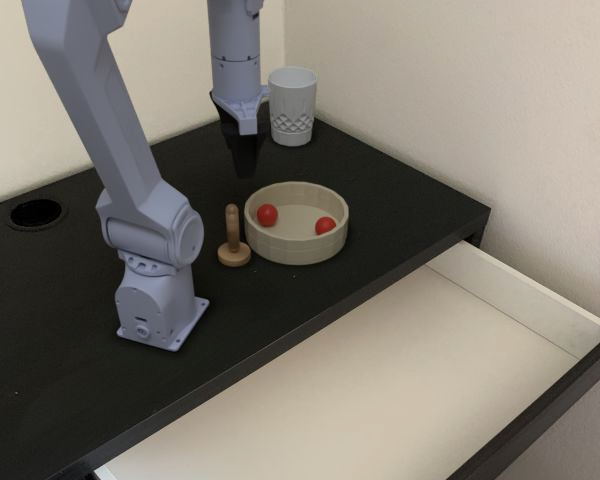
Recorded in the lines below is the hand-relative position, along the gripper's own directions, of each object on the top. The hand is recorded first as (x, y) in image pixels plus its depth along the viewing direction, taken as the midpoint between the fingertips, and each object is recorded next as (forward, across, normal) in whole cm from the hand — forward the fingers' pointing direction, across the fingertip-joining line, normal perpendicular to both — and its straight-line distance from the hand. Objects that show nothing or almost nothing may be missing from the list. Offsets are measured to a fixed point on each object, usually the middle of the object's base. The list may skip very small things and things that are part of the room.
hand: (240, 161), depth 86 cm
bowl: (+10, -3, -7) cm, 13 cm away
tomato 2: (+8, -5, -11) cm, 14 cm away
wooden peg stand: (+10, -6, +2) cm, 12 cm away
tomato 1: (+8, 0, -3) cm, 9 cm away
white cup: (+10, +24, -13) cm, 29 cm away
